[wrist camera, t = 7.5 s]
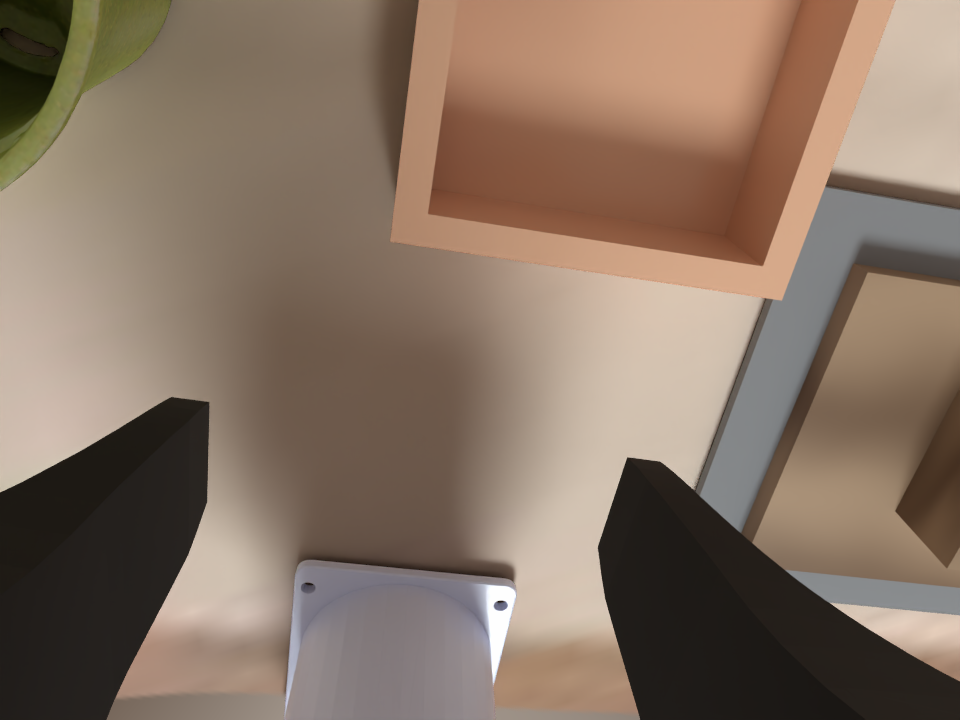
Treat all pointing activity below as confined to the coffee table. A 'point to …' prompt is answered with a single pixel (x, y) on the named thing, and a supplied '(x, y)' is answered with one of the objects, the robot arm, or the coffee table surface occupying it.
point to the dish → (631, 132)
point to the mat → (793, 345)
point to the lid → (873, 440)
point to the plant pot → (62, 66)
